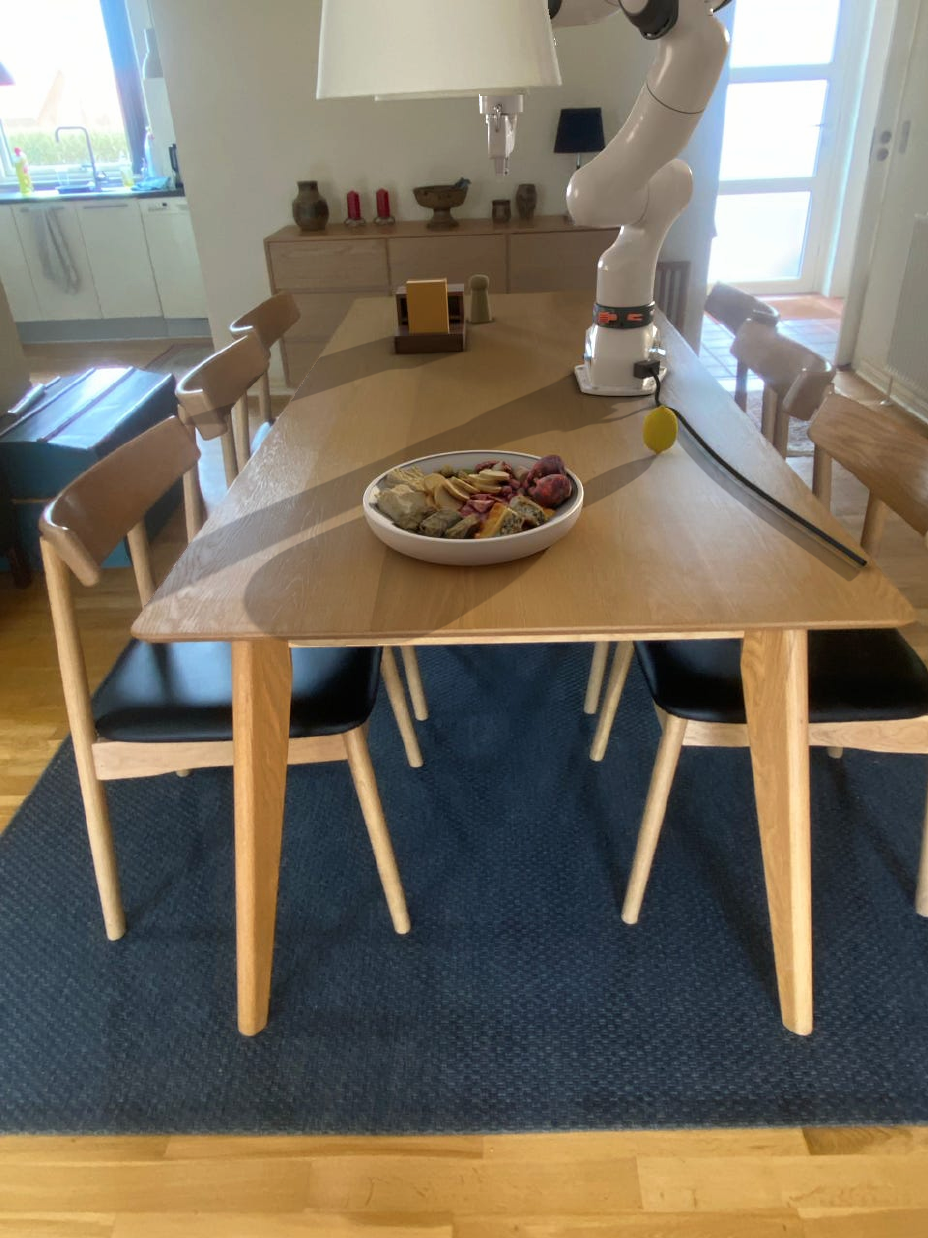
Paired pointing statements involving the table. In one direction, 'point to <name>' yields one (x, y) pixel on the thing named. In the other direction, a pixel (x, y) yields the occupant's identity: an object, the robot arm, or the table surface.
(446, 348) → the wooden l-shaped block
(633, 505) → the table surface
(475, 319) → the tan pawn game piece
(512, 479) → the bowl
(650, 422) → the lemon
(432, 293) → the book
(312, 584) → the table surface
